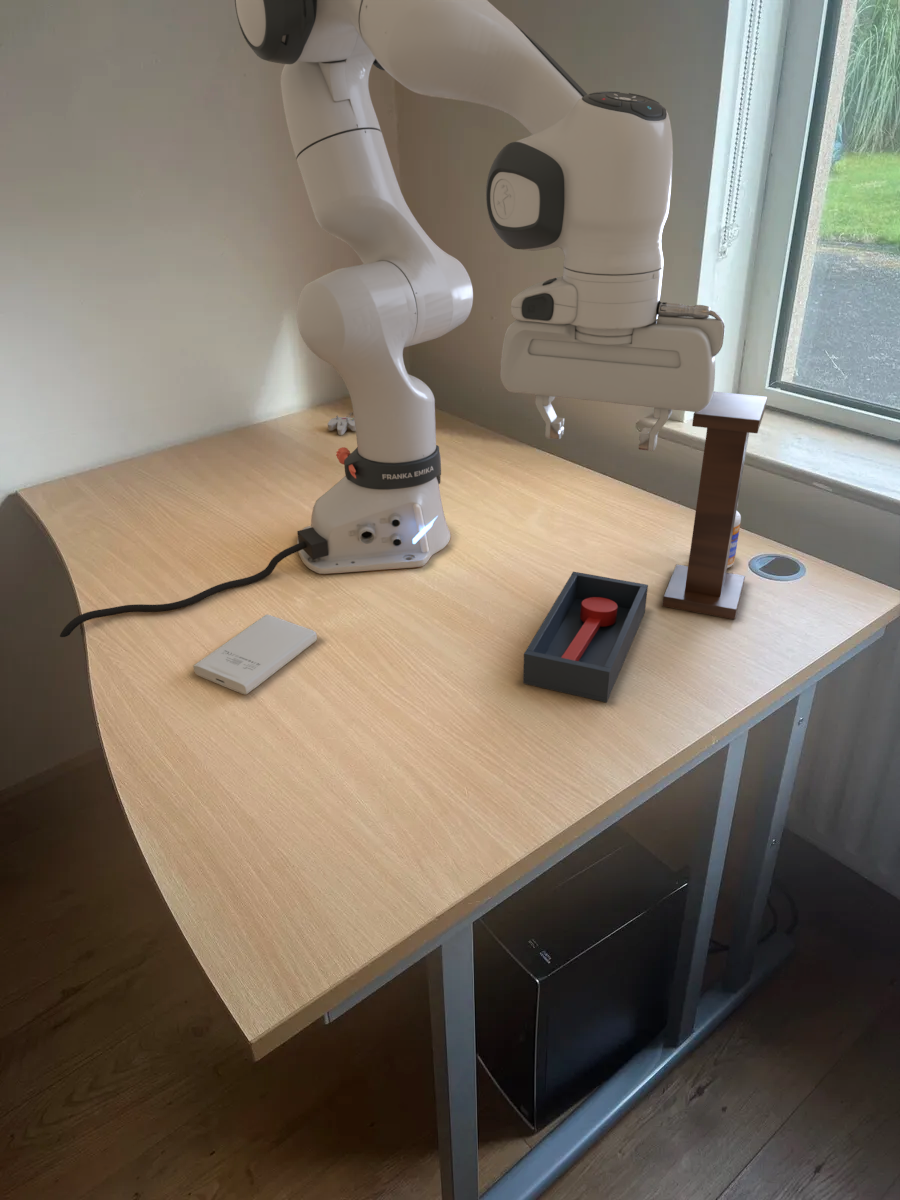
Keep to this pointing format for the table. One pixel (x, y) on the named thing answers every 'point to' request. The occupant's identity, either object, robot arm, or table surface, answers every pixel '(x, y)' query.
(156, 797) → the table surface
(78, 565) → the table surface
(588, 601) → the red lever with knob
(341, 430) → the game controller
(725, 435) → the stand
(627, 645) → the bin
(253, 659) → the hard drive
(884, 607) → the table surface
